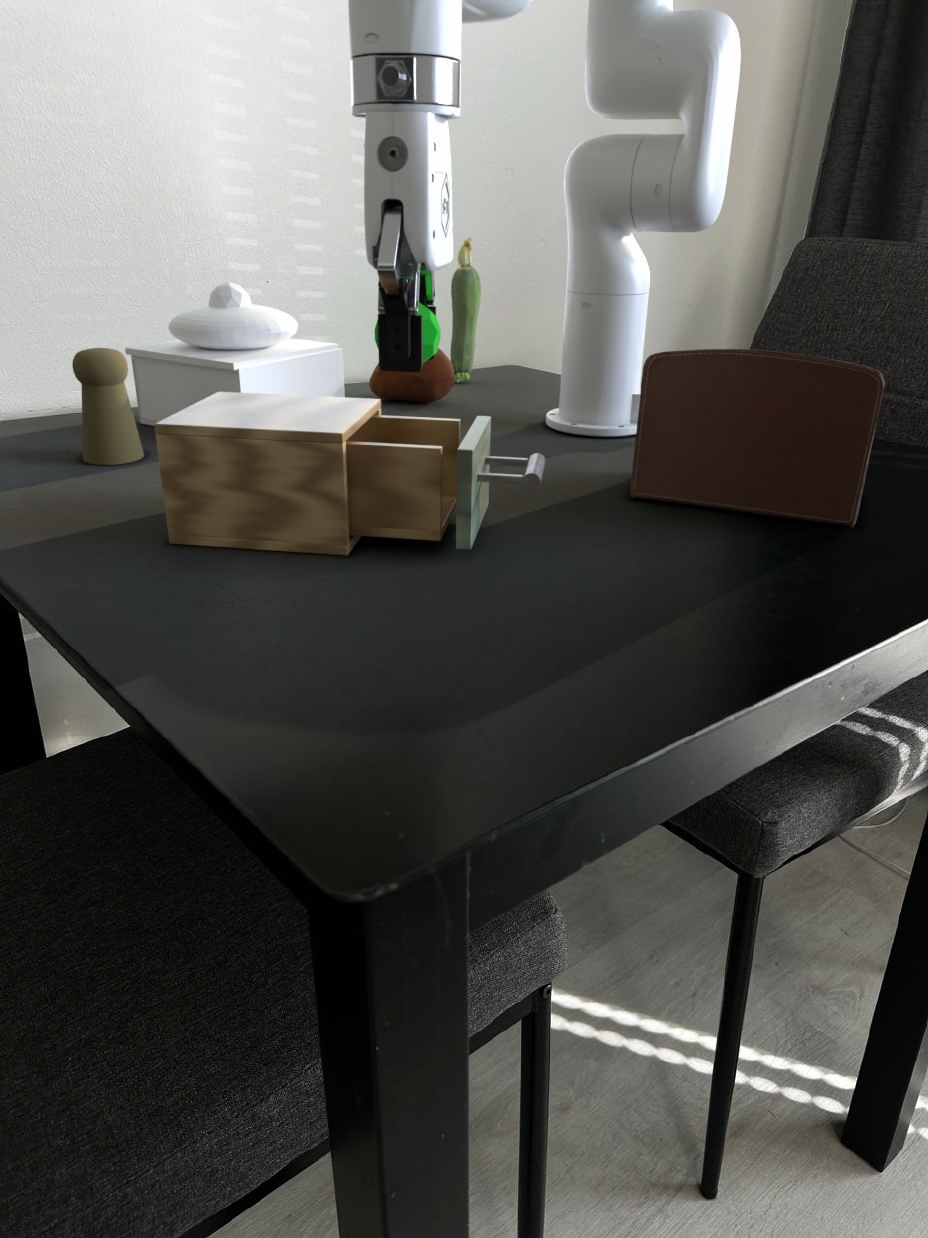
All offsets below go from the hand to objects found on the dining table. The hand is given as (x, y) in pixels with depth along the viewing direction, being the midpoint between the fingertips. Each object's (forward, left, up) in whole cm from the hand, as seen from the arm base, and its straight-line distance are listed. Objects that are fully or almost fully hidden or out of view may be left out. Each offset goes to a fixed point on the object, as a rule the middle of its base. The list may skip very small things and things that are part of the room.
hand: (408, 361), depth 70 cm
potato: (+10, -52, -14) cm, 55 cm away
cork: (+35, -17, -14) cm, 41 cm away
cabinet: (+11, 0, -14) cm, 18 cm away
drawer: (-2, 0, -13) cm, 13 cm away
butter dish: (+28, -36, -14) cm, 48 cm away
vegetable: (+5, -67, -14) cm, 69 cm away
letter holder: (-29, -15, -14) cm, 36 cm away
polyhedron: (0, 0, -1) cm, 1 cm away
